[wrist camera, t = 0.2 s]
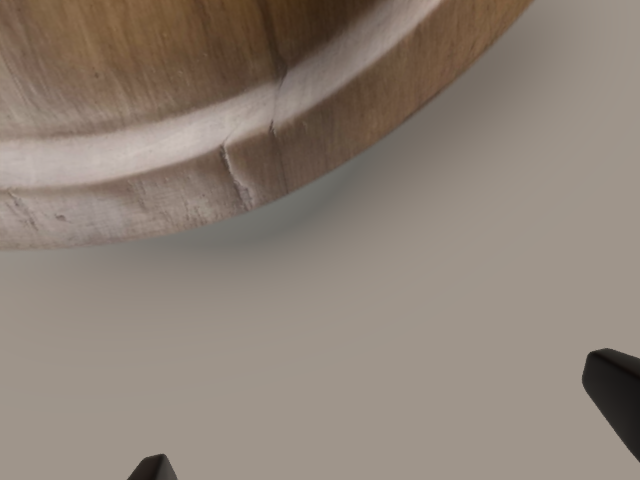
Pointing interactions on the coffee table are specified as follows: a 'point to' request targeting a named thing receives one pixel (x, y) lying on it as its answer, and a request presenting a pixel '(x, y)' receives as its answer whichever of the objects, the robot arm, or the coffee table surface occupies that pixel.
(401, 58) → the coffee table surface
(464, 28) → the coffee table surface
